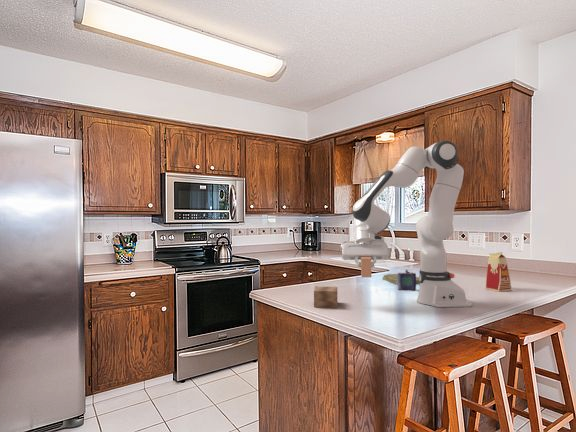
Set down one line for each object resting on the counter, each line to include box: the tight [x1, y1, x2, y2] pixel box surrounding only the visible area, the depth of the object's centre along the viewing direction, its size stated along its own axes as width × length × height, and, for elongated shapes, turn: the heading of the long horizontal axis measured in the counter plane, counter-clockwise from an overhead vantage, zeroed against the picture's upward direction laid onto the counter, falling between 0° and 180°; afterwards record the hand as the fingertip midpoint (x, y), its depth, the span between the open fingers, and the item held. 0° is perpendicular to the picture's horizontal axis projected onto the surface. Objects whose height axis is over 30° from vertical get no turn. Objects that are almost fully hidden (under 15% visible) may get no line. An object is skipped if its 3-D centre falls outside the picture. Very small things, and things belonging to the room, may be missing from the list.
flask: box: [397, 269, 417, 292], centre depth 191 cm, size 9×3×11 cm, turn 80°
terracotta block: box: [360, 257, 372, 278], centre depth 156 cm, size 4×4×8 cm
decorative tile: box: [382, 273, 420, 286], centre depth 215 cm, size 19×20×4 cm
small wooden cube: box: [313, 285, 338, 309], centre depth 161 cm, size 10×10×7 cm
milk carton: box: [485, 251, 513, 293], centre depth 191 cm, size 9×9×20 cm
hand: (366, 266), depth 155 cm, fingers closed on terracotta block, 4 cm apart
